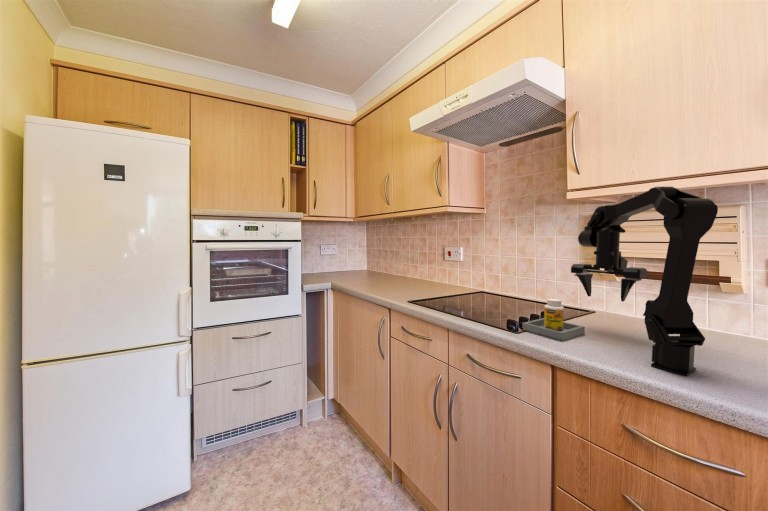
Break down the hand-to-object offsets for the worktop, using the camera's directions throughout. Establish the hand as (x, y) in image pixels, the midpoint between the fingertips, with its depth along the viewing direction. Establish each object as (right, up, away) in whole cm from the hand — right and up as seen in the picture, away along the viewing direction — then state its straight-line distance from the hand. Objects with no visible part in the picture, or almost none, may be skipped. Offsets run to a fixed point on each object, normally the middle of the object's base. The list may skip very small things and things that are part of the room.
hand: (605, 298), depth 97 cm
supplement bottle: (-13, -11, +5) cm, 18 cm away
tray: (-13, -12, +5) cm, 19 cm away
